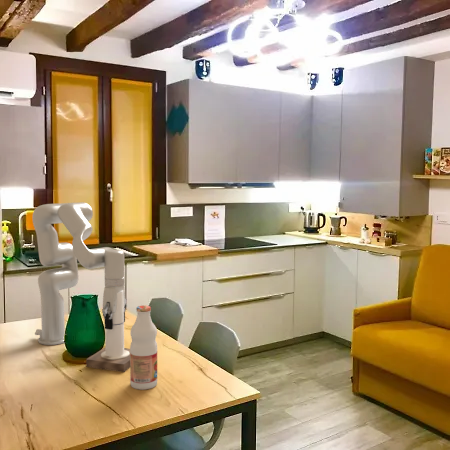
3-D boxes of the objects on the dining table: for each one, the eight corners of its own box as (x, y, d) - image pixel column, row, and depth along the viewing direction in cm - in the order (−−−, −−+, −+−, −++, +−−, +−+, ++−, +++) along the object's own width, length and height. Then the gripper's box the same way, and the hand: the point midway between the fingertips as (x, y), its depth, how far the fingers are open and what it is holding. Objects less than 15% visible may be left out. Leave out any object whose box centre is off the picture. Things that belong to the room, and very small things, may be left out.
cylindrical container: (122, 357, 203) (121, 293, 200) (103, 356, 203) (102, 293, 200) (125, 350, 210) (125, 289, 207) (108, 350, 210) (107, 288, 207)
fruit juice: (126, 382, 187) (125, 305, 184) (150, 377, 192) (150, 302, 189) (137, 392, 179) (136, 312, 176) (162, 386, 185) (162, 308, 182)
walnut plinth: (86, 366, 202) (86, 358, 201) (107, 353, 217) (107, 345, 216) (124, 372, 197) (124, 363, 197) (143, 357, 212) (142, 349, 212)
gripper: (116, 277, 213) (117, 318, 215) (94, 286, 196) (94, 330, 198) (133, 278, 211) (133, 320, 212) (112, 287, 194) (112, 332, 196)
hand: (115, 325), depth 205 cm, fingers open, 9 cm apart
